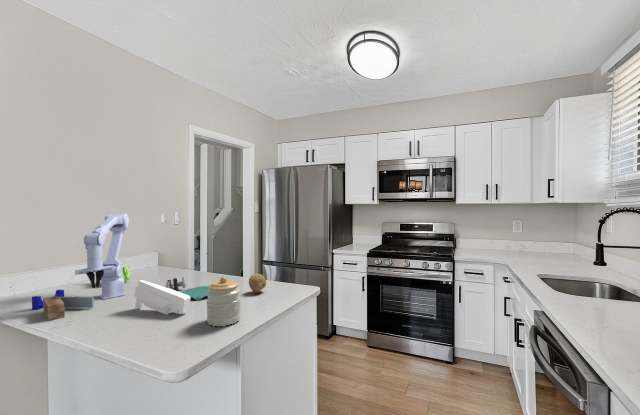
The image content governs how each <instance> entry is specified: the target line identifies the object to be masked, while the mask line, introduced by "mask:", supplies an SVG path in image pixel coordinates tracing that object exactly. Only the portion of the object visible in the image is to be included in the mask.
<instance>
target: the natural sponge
mask: <svg viewBox="0 0 640 415" xmlns="http://www.w3.org/2000/svg"><path fill="white" fill-rule="evenodd" d="M248 285H249V288H250V290H251V291H252V292H253V293H255V294H259V293H260V292H261V291H262V290H263V289H265V287H266V286H267V280H266V278H265V276H264V275H262V274H261V273H254V274H252V275H251V276H250V277H249V278H248Z"/></svg>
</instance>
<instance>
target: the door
mask: <svg viewBox="0 0 640 415" xmlns="http://www.w3.org/2000/svg"><path fill="white" fill-rule="evenodd" d="M59 298H60V299H61V300H62V301H63V302H64V309H90V308H91V309H92V308H94V306H95V299H94V296H64V297H59Z"/></svg>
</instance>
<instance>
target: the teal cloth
mask: <svg viewBox="0 0 640 415" xmlns="http://www.w3.org/2000/svg"><path fill="white" fill-rule="evenodd" d="M208 287H209V285H205V286H195V287H192V288H187V289H185V290H183V291H182V290H181V291H179V292H180V293H183V294H186V295H189V296H190V297H191V299H190V300H195V301H197V300H199V301H202V299H203V298H208V296H207V295H206V292H207V291H209V288H208Z"/></svg>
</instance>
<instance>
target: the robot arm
mask: <svg viewBox="0 0 640 415" xmlns="http://www.w3.org/2000/svg"><path fill="white" fill-rule="evenodd" d="M129 223H130V218H129V215H128V213H106V215H105V216H104V222H103V223H102V224H98V225H97V226H96V227H95V228H94V229H93V231H91V232H90V233H87V234H85V236H84V237H83V243H84V246H85V248H84V249H85V250H86V258H87V260H86V262H87V263H86V265H87V266H86V268H82V269H75V270H74V275H75V276H79V275H84V274H85V275H86V276H87V278H88V279H89V281H90V284H91V288H92V289H95V288H97V289H98V288H100V285H101V294H100V295H99V298H101V299H102V300H106V299H112V298H116V297H121V296H125V295H126V293H125V283H124V279H123V278H122V277H121V275H122V272H123V270H122V267H123V265H122V262H121V261H119V256H120V251H121V248H122V241H123V239H124V238H123V237H124V235H125V234H124V233H125V231H127V230H128V227H129ZM110 232H112V235H111V239H110V244H109V247H108V251H107V256H106V259H105V260H104V261H103V245H104V243H105V240H106V237H107V236H108V235H109V234H110ZM120 277H121V278H120ZM100 283H101V284H100Z"/></svg>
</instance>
